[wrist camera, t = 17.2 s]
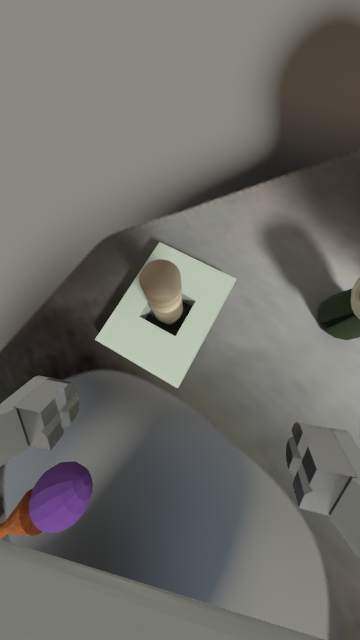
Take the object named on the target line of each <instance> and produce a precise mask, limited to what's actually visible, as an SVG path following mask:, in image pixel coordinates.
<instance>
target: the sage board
mask: <svg viewBox="0 0 360 640" xmlns="http://www.w3.org/2000/svg"><path fill="white" fill-rule="evenodd" d="M159 259H163V260H168V261H170V262H172V263H174V264H175V265H176V266H177V267H178V269H179V271H180V274H181V286H182V301H183V302H185V303H187V304H189V305H191V306H192V308H191V310H190V312H189V314H188V315H187V317H186V319H185V321H184V322H183V324H182V326H181V328H180V329H179V331H178V333H177V335H176V336H174V335H172V334H170V333H168V332H167V331H165V330H163V329H161V328H159V327H158V326H156V325H154V324H152V323H150V322H148V321H147V320H145V319H146V317H147V316H148V314H149V313H150V311H151V309H152V308H151V306H150V304H149V302H148V300H147V298H146V296H145V294H144V292H143V290H142V288H141V286H140V283H139V276H140V273H141V271H140V272H139V274H138V275H137V277H136V278H135V280H134V281H133V283H132V284H131V286H130V287H129V289H128V290H127V292H126V293H125V295H124V296H123V298H122V299H121V301H120V302H119V304H118V305H117V307H116V308H115V310H114V311H113V313H112V315H111V316H110V318H109V319H108V321H107V322H106V324H105V325H104V327H103V328H102V330H101V331H100V333H99V334H98V336H97V337H96V339H95V340H96V341H98V342H100V343H102V344H103V345H105V346H107V347H108V348H110V349H112V350H113V351H115V352H117V353H118V354H120V355H122V356H124V357H125V358H127V359H129V360H130V361H132V362H134V363H135V364H137V365H139V366H140V367H142V368H144V369H146V370H147V371H149V372H151V373H152V374H154V375H156V376H157V377H159V378H161V379H163V380H164V381H166V382H168V383H169V384H171V385H173V386H174V387H176V388H178V387H179V385H180V384H181V382H182V380H183V378H184V376H185V374H186V373H187V371H188V369H189V367H190V365H191V363H192V361H193V360H194V358H195V356H196V354H197V352H198V350H199V348H200V347H201V345H202V343H203V341H204V339H205V337H206V335H207V334H208V332H209V330H210V328H211V326H212V324H213V322H214V321H215V319H216V317H217V315H218V313H219V311H220V309H221V308H222V306H223V304H224V302H225V300H226V298H227V296H228V295H229V293H230V291H231V289H232V287H233V285H234V283H235V281H236V279H235V278H233V277H231V276H229V275H227V274H225V273H223V272H221V271H219V270H217V269H215V268H213V267H210V266H208V265H206V264H204V263H202V262H200V261H198V260H196V259H194V258H192V257H190V256H188V255H186V254H184V253H181V252H179V251H177V250H175V249H173V248H171V247H169V246H167V245H165V244H163V243H161V242H159V243H158V245H157V246H156V248H155V249H154V251H153V252H152V254H151V255H150V257H149V258H148V260H147V261H146V263H145V265H147V264H148V263H149V262H151V261H154V260H159ZM145 265H144V266H145ZM144 266H143V268H144ZM143 268H142V269H143ZM142 269H141V270H142Z"/></svg>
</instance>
